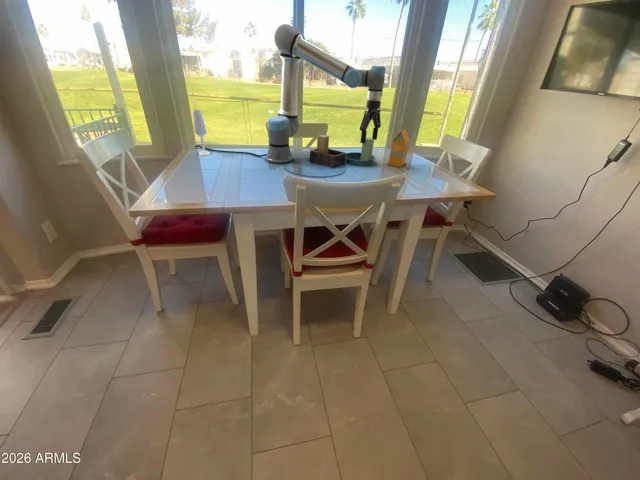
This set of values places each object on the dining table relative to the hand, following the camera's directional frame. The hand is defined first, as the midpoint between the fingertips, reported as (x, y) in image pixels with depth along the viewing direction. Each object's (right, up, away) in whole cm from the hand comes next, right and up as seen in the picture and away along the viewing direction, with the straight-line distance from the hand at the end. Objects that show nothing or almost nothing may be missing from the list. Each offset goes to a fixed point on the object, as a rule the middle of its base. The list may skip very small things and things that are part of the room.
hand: (368, 141), depth 157 cm
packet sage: (-1, -11, +7) cm, 13 cm away
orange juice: (+19, -11, +9) cm, 24 cm away
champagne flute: (-99, -5, +9) cm, 99 cm away
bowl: (-4, -9, +9) cm, 14 cm away
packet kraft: (-27, -9, +7) cm, 29 cm away
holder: (-24, -11, +6) cm, 27 cm away
